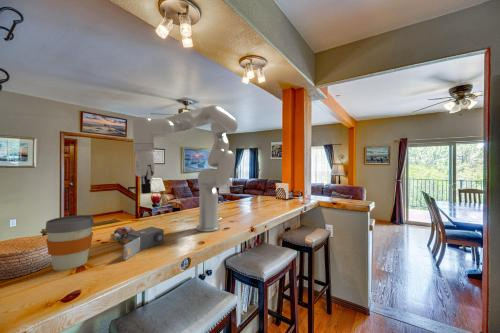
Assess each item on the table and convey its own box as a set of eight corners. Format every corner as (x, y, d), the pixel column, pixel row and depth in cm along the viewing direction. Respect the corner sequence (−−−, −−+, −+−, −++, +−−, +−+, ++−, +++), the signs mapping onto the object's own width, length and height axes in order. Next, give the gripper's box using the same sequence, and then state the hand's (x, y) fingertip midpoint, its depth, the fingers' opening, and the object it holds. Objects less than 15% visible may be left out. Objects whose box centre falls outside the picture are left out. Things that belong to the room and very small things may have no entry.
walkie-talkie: (109, 235, 104) (120, 246, 89) (109, 226, 104) (120, 236, 89) (129, 231, 110) (143, 241, 96) (129, 222, 110) (143, 231, 96)
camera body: (151, 238, 98) (151, 225, 98) (166, 242, 94) (166, 228, 93) (127, 247, 88) (127, 232, 88) (142, 251, 84) (142, 235, 84)
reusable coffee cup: (84, 270, 69) (84, 222, 69) (35, 275, 65) (35, 225, 65) (99, 254, 81) (99, 214, 81) (58, 258, 77) (58, 216, 77)
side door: (123, 260, 76) (123, 245, 76) (138, 250, 84) (138, 237, 84) (127, 260, 76) (127, 245, 76) (141, 250, 84) (141, 237, 84)
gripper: (128, 149, 91) (130, 192, 92) (140, 147, 81) (142, 196, 81) (147, 149, 97) (149, 190, 97) (160, 147, 86) (162, 194, 86)
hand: (146, 193), depth 89 cm, fingers closed
